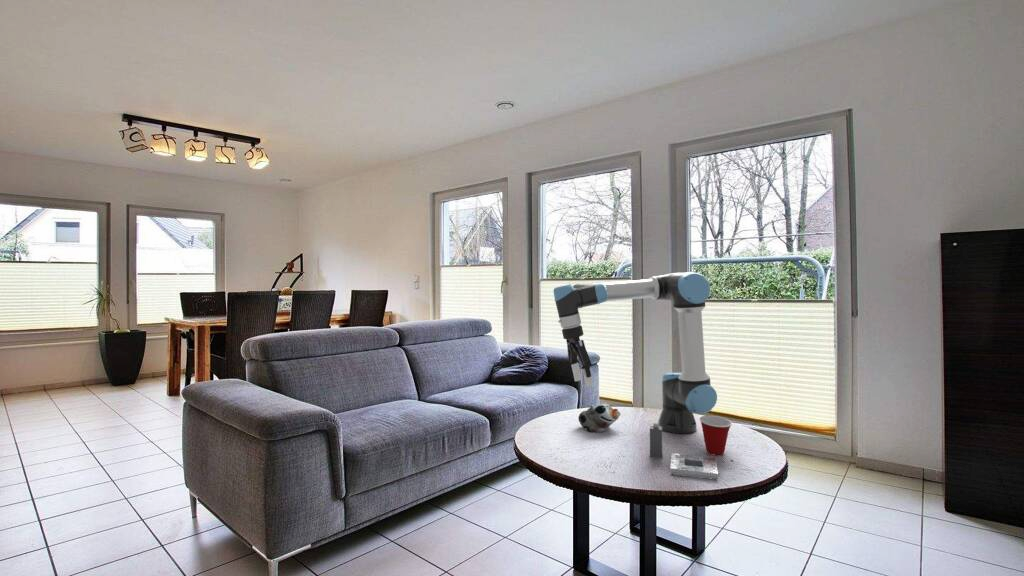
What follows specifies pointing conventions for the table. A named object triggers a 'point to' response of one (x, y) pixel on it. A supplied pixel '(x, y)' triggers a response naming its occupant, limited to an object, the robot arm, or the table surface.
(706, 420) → the plastic cup
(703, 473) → the socket
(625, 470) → the table surface
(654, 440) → the plug
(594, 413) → the lucky cat figurine
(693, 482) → the table surface
